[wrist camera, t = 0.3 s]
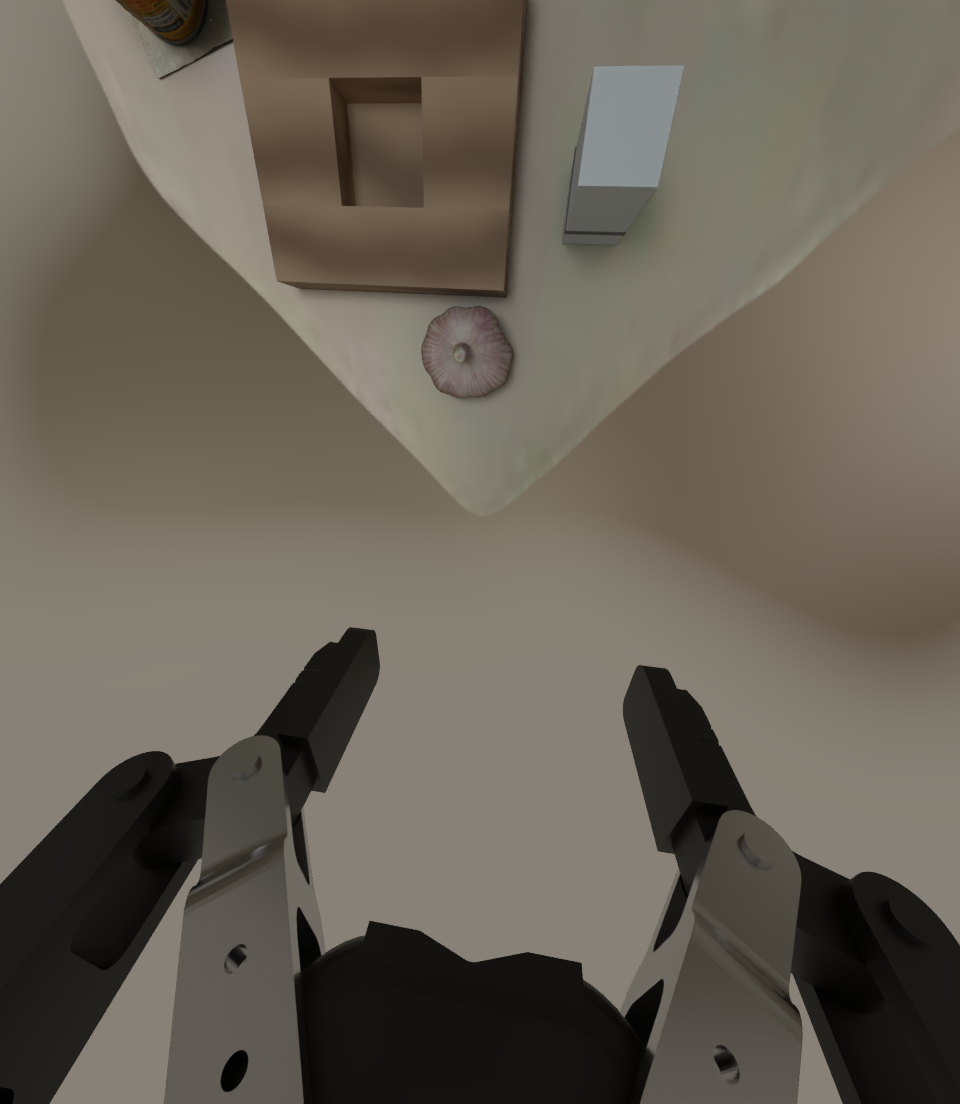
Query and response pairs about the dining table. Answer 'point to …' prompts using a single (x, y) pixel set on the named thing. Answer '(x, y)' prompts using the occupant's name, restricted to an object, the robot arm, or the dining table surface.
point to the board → (384, 139)
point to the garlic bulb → (466, 352)
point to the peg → (619, 150)
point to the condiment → (179, 29)
